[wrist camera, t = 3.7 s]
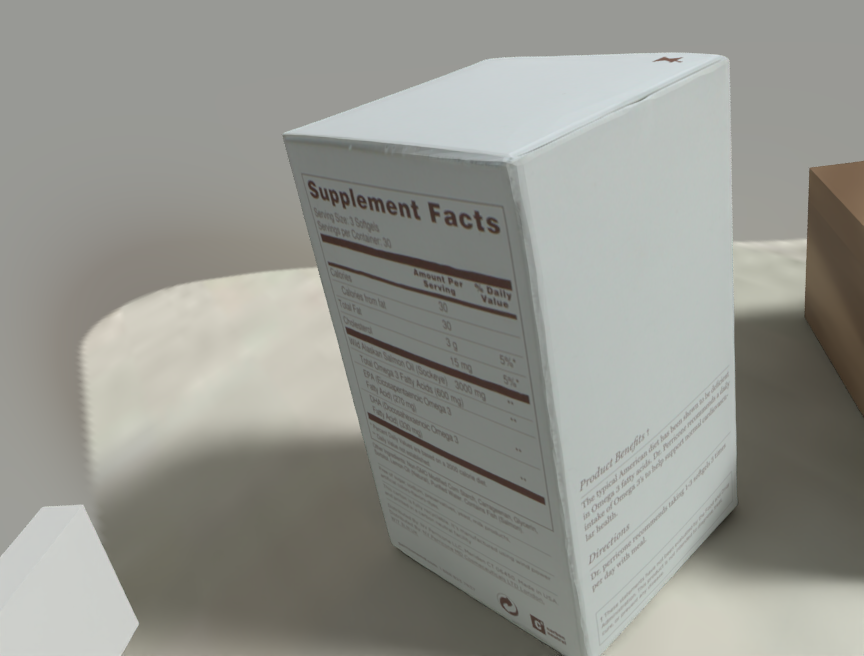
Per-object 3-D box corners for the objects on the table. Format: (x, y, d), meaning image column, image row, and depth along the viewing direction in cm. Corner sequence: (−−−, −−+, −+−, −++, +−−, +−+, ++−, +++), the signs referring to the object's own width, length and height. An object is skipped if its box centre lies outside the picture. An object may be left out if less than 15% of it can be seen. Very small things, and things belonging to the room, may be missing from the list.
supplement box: (543, 427, 28) (492, 52, 22) (745, 509, 23) (744, 45, 17) (382, 549, 24) (270, 128, 18) (583, 683, 19) (512, 149, 13)
